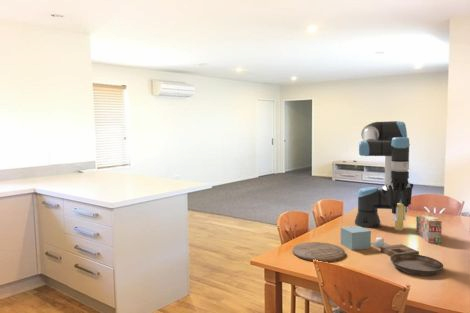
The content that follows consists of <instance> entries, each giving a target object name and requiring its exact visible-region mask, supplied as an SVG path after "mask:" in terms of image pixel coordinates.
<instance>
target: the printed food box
mask: <svg viewBox="0 0 470 313" xmlns="http://www.w3.org/2000/svg"><path fill="white" fill-rule="evenodd" d="M415 217H416V221H415V222H416V225H415V226H416V230H415V231H416V233H417V234H418V235H419V236H421V238H423V239H424V240H425V241H426V242H427V243H428V244H442V223H443V222H442V220H441V219H440V218H438V217H437V216H435V215H434V214H422V215H421V216H415Z"/></svg>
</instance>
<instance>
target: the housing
mask: <svg viewBox="0 0 470 313" xmlns="http://www.w3.org/2000/svg"><path fill="white" fill-rule="evenodd" d="M371 233H372V231H371V230H370V229H367V228H366V227H362V226H358V225H354V226H353V225H352V226H343V227H342V226H341V227H340V245H342V246H344V247H345V248H346V249H349V250H351V251H357V250H358V251H359V250H366V249H371V246H372V245H371V243H372V242H371V235H372V234H371Z"/></svg>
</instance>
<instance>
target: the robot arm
mask: <svg viewBox="0 0 470 313" xmlns="http://www.w3.org/2000/svg"><path fill="white" fill-rule="evenodd" d="M360 135H361V139H362V140H360V141H359V142H358V154H359V156H360V157H361V156H362V157H384V185H382V186H381V189H379V188H378V186H367V187H362V188H360V189H359V190H358V191H357V213H356V215H355V219H354V225H355V226H360V227H363V228H378V227H380V226H381V220H380V216H379V213H378V209H380V210H391V214H392V220H393V221H394V222H395V221H398V207H397V203H402V204H404V214H403V221H406V214H407V210H408V208H407V207H409V206H410V205H411V204H412V193H413V188H414V184H413V183H410V182H409V177H410V176H409V174H410V172H409V169H410V146H411V144H410V138H409V137H408V132H407V126H406V123H405V122H404V121H400V120H399V121H397V120H394V121H393V120H391V121H374V122H371V123H368V124H366V125H365V126H364V127H363V129H362V130H361V134H360Z"/></svg>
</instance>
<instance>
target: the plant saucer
mask: <svg viewBox="0 0 470 313" xmlns="http://www.w3.org/2000/svg"><path fill="white" fill-rule="evenodd" d="M389 258H390V261H391V263H392V265H394V267H396V268H397V269H398V270H399V271H401V272H404V273H407V274H411V275H416V276H417V275H418V276H432V275H435V274H437V273H439V272H441V271H442V269H443V268H444V264H443V263H442V262H441V261H440V260H438V259H435V258H434V257H433V258H432V257H430V256H427V255H422V254H419V255H417V254H396V255H393V256H389Z"/></svg>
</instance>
